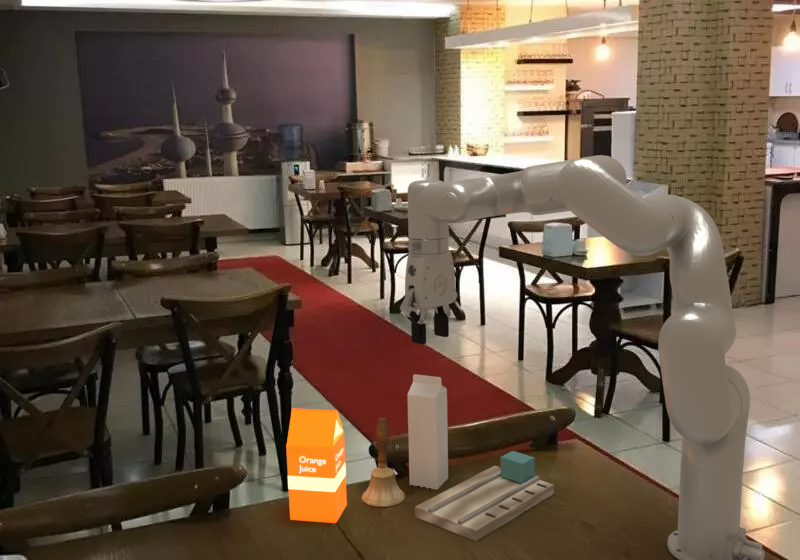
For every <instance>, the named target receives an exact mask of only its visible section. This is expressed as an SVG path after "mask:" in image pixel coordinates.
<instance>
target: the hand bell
mask: <svg viewBox="0 0 800 560" xmlns="http://www.w3.org/2000/svg"><path fill="white" fill-rule="evenodd" d="M375 441H376V446H377V449H378V450H377V451H378V457H377V459H378V460H377V462H378V463H377V467H376V468H374V469H372V470H371V472H370V479H369V484H368V487H367V488H366V490H364V492H363V493H362V496H361V501H362V502H363V503H364V504H366V505H367V506H368V505H369V506H371V507H378V508H388V507H393V506H394V507H395V506H396V505H398V504H399V505H400V504H401V503H402V502H403V501H404V500H405V498H406V494H405V493H404V491H403V490H402V489H400V487H399V486H398V484H397V480H396V479H397V478H396V475H395V471H394V469H393V468H390V467H388V451H387V450H388V445H389V442H390V429H389V426H388V423H387V419H386V418H385V417H378V421H377V425H376V429H375Z"/></svg>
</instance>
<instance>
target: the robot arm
mask: <svg viewBox="0 0 800 560" xmlns="http://www.w3.org/2000/svg"><path fill="white" fill-rule="evenodd" d="M627 182H628V177H627V172H626V170H625V168H624V166H623V165H622V163H621V162H620V161H619V160H617V159H616V158H614V157H611V156H609V155H604V154H600V155H591V156H584V157H580V158H573V159H567V160H562V161H561V160H560V161H554V162H549V163H544V164H543V163H542V164H536V165H529V166H526V167H525V168H524V169H522V170H520V171H515V172H514V171H513V172H509V173H508V172H507V173H503V174H496V175H489V176H483V177H482V176H481V177H476V178H468V179H461V180H458V181H450V182H445V181H442V180H435V179H423V180H414V181H412V182H410V184H409V185H408V187H407V219H408V220H407V223H408V232H407V233H408V244H407V250H408V255H407V259H406V260H407V261H406V266H405V276H404V277H405V278H404V279H405V280H404V281H405V282H404V295H405V296H404V298H403V300H402V302H401V304H400V305H399V309H400V311H401V312H402V313H403V314H404V315H405V317H406V318H407V320H408V322H409V323H411V326H410V327H411V329H410V330H411V331H410V332H411V342H412V343H414V344H419V345H422V346H423V345H426V344H427V324H426V323H424V320H425V317H426V316H425V315H426V312H427V311H428V310H432V309H435V310H434V311H435V313H436V314H434V315H433V323H434V325H433V327H434V328H433V330H434V331H433V332H434V335H435V336H437V337H443V338H448V337H449V336H450V333H449V332H450V329H449V325H450V322H449V321H450V319H449V317H451V315H452V313H451V310H452V309H453V307H454V303H455V301H456V300H457V297H458V292H457V291H456V290H457V288H456V286H457V285H456V275H455V274H456V273H455V272H456V271H455V266H454V259H453V256H452V252H451V251H449V249H450V246H449V245H450V243H449V242H450V241H449V238H450V237H449V235H450V234H449V233H450V231H449V228H450V227H449V224H463V223H464V224H465V223H467V222H468V223H469V222H471V221H475V220H480V219H484V218H490V217H495V216H503V215H504V216H505V215H511V214H520V213H528V214H531V215H533V216H542V215H543V216H544V215H549V214H557V213H565V212H566V213H567V212H571V213H572V214H573V215H575V216H576V217H577V218H578V219H580V220H581V221H582V222H583V223H585V224H586V225H588V226H589V227H590V228H591V229H593V230H594V231H595V232H597V233H598V234H599V235H601V236H602V237H603V238H605V239H606V240H607V241H609V242H610V243H612V244H613V245H614V246H616V247H617V248H619V249H620V250H622V251H624V252H625V253H628V254H630V255H634V256H638V257H639V256H641V257H643V256H644V257H646V256H650V255H654V254H656V253H658V252H661V251H662V250H664V249H666V251H667V253H668V256H669V281H670V286H671V290H672V301H673V313H672V314H671V315H670V316H669V317H668V318H667V319H666V320H665V322H664V323H663V324H662V326H661V329H660V332H659V335H658V345H657V349H658V359H659V366H660V373H661V381H662V386H663V394H664V400H665V401H664V402H665V408H666V411H667V416H668V418H669V421H670V424H671V425H672V426H673V429H674V430H675V431H676V432H677V434H679V435H680V436H681V445H680V446H681V448H680V449H681V450H680V451H681V452H680V463H679V465H680V467H679V469H680V471H679V489H678V491H679V492H678V513H677V515H678V518H677V519H678V520H677V530H675V531H672V532H671V533H670V534H669V535H668V537H667V549H668V551H669V553H670V554H671V555H672V557H675V558H676V559H678V560H765V555H766V552H765V550H764V549H763V543H760V542H756V541H753V540H750V539H748V537H746V533H747V531H746V530H747V528H745V527H740V526H741V513H742V511H741V509H742V495H743V480H744V479H743V477H744V465H745V464H744V463H745V450H746V440H747V439H746V437H747V428H748V423H749V422H748V421H749V416H750V415H749V414H750V406H751V403H750V402H751V393H750V389H749V385H748V383H747V381H746V379H745V378H744V376H743V375H742V374H741V372H739V370H737V369H736V368H734V367H732V366H731V365H728V364H727V362H726V356H725V355H726V354H727V353H728V352H729V351H730V349H731V348H732V347H733V344H734V343H735V340H736V336H737V327H736V322H735V321H736V320H735V316H734V311H733V304H732V297H731V296H732V295H731V290H730V283H729V278H728V271H727V265H726V258H725V252H724V251H725V249H724V246H723V240H722V237H721V235H720V234H721V233H720V232H719V229H718V227H717V224H716V223H715V221H714V219H713V218H712V216H711V215H710V214H709V213H708V212H707V211H706V210H705V209H704V208H703V207H702V206H701V205H699V204H698V203H696V202H695V201H692V200H691V199H688V198H685V197H683V196H679V195H675V194H666V193H664V194H663V193H661V194H653V195H650V196H647V197H642V195H640V194H638V193H636V191H634V190H632V189H631V188H630V187H628V186H627V184H628V183H627ZM417 311H419V312H418V313H417Z"/></svg>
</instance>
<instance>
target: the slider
mask: <svg viewBox="0 0 800 560" xmlns="http://www.w3.org/2000/svg"><path fill="white" fill-rule="evenodd" d="M499 458H500V462H499V463H500V467H501V477H504V478H507V479H510V480H513V481H516V482H519V483H522V484H523V483H525V482H526V481H528V480H530V479H532V478H534V477H535V476H536V473H535V471H536V469H535V468H536V466H535V465H536V464H535V462H536V461H535V460H536V457H534V456H532V455H529V454H528V455H527V454H524V453H521V452H518V451H514V450H512V451H509V452H507V453H505V454H504V455H501V456H500V457H499Z"/></svg>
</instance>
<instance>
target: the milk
mask: <svg viewBox="0 0 800 560" xmlns="http://www.w3.org/2000/svg"><path fill="white" fill-rule="evenodd" d="M407 426H408V427H407V429H408V430H407V431H408V433H407V435H408V464H409V465H408V469H409V470H408V471H409V474H408V476H409V486H411V485H413V486H412V487H417V486H420V487H419V488H423V487H425V489H429V488H431V489H430V490H434V491H437V490H438V489H440V488H441V487H442V485H443V484H444V483H445V482H446V481H447V480H448V479H449V454H448V453H449V449H448V447H449V445H448V444H449V443H448V436H449V435H448V389H447V388H446V387H445V386H444V385H443V384H442V378H441V376H433V375H432V376H431V375H423V374H416V373H414V374H413V375H412V384H411V385H410V388H409V390H408V392H407ZM438 491H439V490H438Z"/></svg>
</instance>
